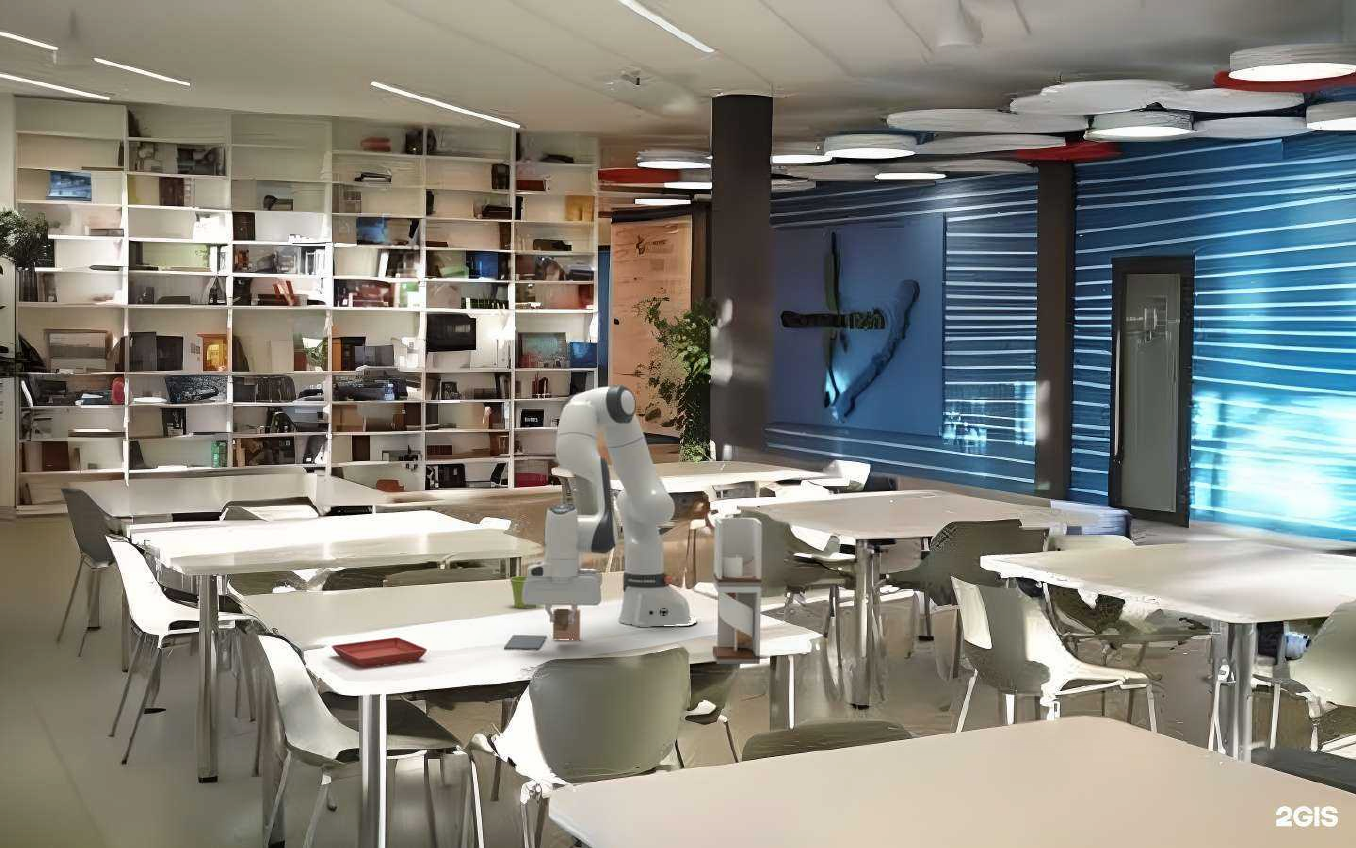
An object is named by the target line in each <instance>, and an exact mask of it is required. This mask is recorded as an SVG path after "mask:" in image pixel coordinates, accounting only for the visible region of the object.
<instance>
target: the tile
mask: <svg viewBox="0 0 1356 848" xmlns="http://www.w3.org/2000/svg"><path fill="white" fill-rule="evenodd" d="M557 609H558V608H554V609H553V612H552V613H553V614H554V613H555V611H556V610H557ZM568 609H569V608H568ZM573 610H574V609H571V608H570V609H569V615H571V613H572V612H573ZM573 619H575V622H574V624H573V626H568V628H567V630H566V631H556V630H554V626H553V625H552V640H553V639H569V640H568V641H570V640H572V639H573V640H579V641H580V639H581V609H578V608H577V610H576V612H575V613H574V615H573ZM553 623H554V622H552V624H553Z"/></svg>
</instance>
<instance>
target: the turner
mask: <svg viewBox="0 0 1356 848" xmlns="http://www.w3.org/2000/svg"><path fill="white" fill-rule="evenodd" d="M556 609H557V610H556V611H555V613H554V623H553V622H552V627H553V626H554V630H556V631H566V630H567V628H568V626H573V624H574V622H575V619H573V623H570V622H567V615H569V608H556Z"/></svg>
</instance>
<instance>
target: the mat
mask: <svg viewBox="0 0 1356 848" xmlns="http://www.w3.org/2000/svg"><path fill="white" fill-rule="evenodd" d="M545 639H546V640H547V639H548V637H547V635H532V634H531V635H529V634H528V635H523V634H522V635H521V634H519V635H518V634H517V635H516V634H513V635H512V636H511V637H510V639H508V641H507V643H506V644H505V645H504V647H503V650H504V649H509V650H510V649H512V651H513V649H522V650H521V651H539V650H541V648H542V646H543V644H544V643H545V641H546V640H545ZM540 647H541V648H540ZM531 649H533V650H531ZM534 649H535V650H534Z"/></svg>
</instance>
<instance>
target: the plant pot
mask: <svg viewBox="0 0 1356 848" xmlns="http://www.w3.org/2000/svg"><path fill="white" fill-rule="evenodd" d="M527 577H528V575H524V576H523V575H522V576H520V575H519V576H512V577H510V578H509V581H510V583H511V586H512V593H513V600H514V606H515V608H517V609H524V608H526V609H531V608H532V609H533V608H535V607H536V605H530V604H524V603H523V602H522V590H523V584H524V581H525V579H526V578H527Z"/></svg>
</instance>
